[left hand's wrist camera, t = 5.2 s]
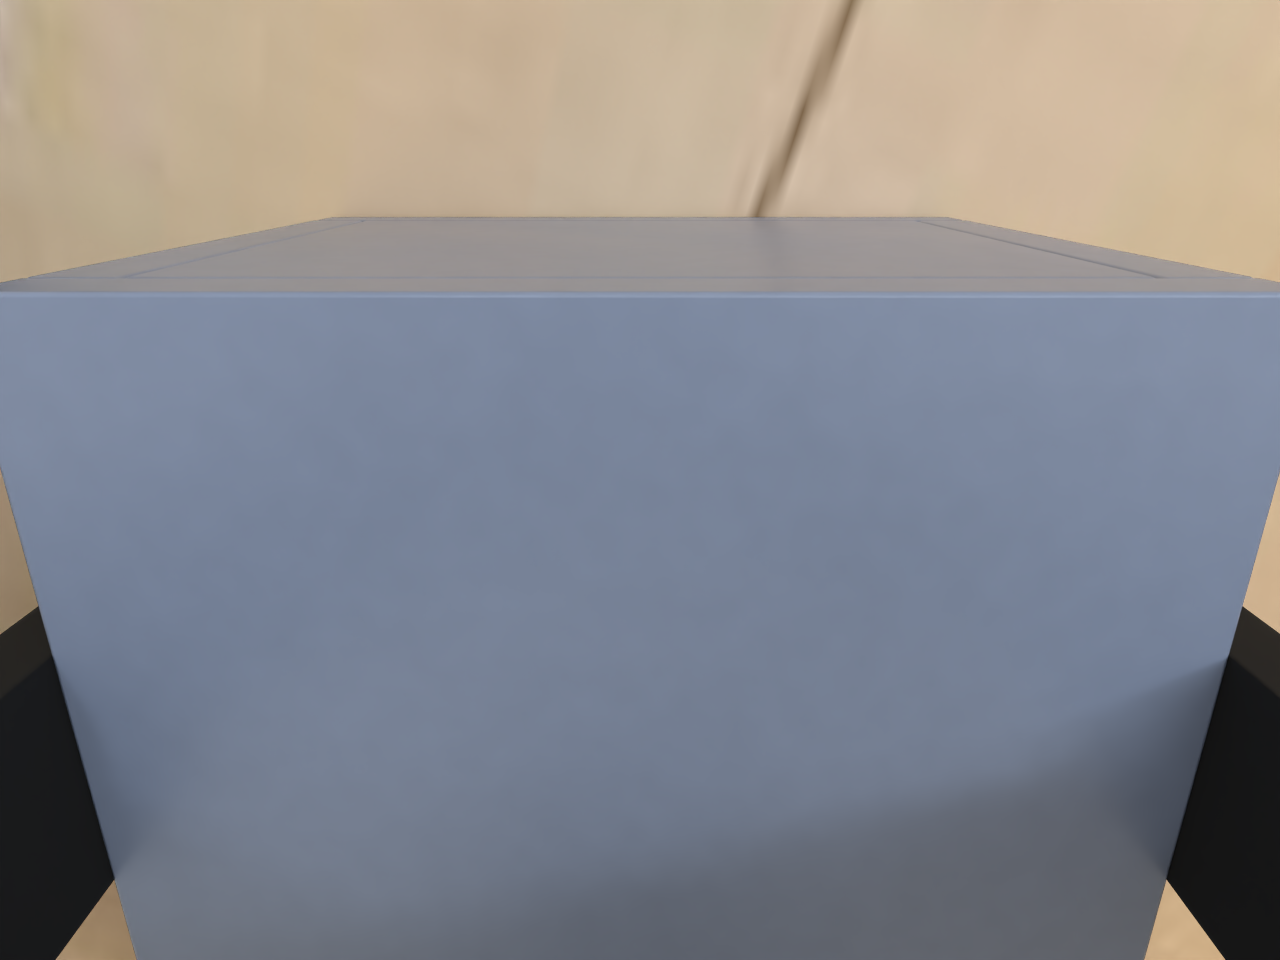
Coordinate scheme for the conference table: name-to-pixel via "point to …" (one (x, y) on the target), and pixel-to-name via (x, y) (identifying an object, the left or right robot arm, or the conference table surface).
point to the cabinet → (640, 581)
